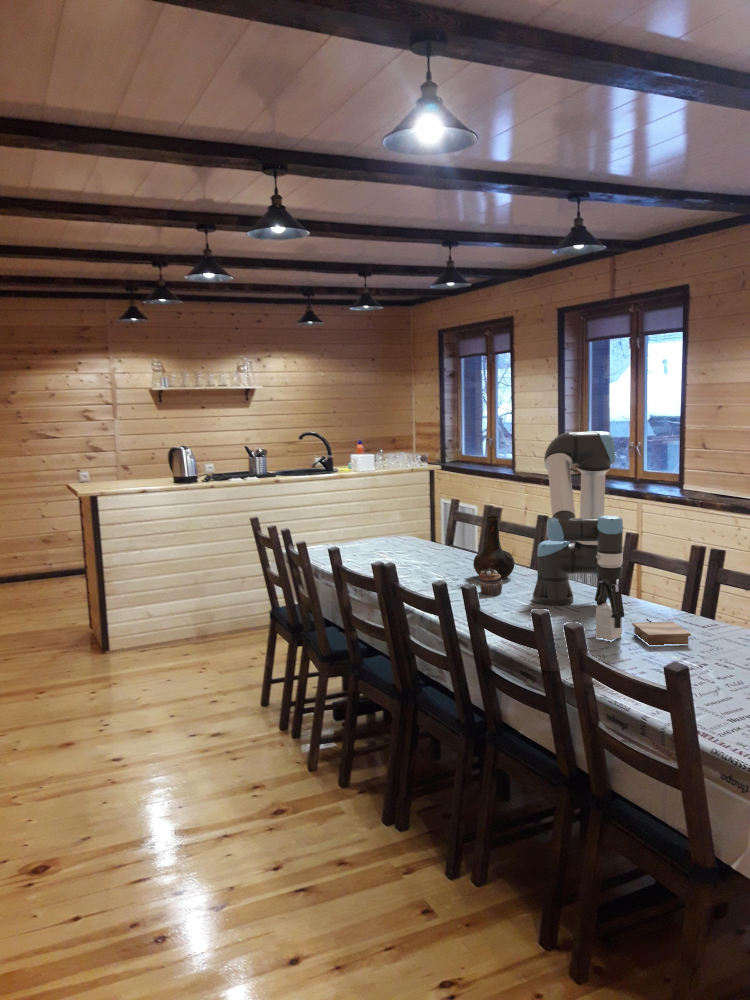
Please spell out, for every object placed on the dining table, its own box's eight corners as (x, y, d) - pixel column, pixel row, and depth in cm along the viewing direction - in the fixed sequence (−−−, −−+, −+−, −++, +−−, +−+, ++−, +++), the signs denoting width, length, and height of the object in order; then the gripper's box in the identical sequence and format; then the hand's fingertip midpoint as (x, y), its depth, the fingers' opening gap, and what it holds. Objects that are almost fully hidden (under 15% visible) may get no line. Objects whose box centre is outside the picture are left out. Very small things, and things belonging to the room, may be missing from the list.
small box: (605, 633, 239) (605, 601, 237) (622, 636, 235) (622, 604, 234) (595, 639, 233) (595, 607, 231) (612, 642, 229) (612, 609, 228)
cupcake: (492, 597, 289) (492, 572, 288) (474, 592, 296) (473, 568, 295) (508, 592, 295) (508, 568, 294) (490, 588, 303) (489, 564, 301)
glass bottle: (502, 584, 309) (502, 518, 306) (465, 579, 320) (465, 515, 317) (521, 576, 323) (521, 513, 320) (485, 572, 334) (485, 511, 331)
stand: (632, 634, 236) (632, 622, 236) (672, 633, 237) (672, 621, 236) (648, 647, 224) (648, 634, 223) (690, 646, 224) (690, 633, 223)
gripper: (585, 558, 243) (584, 620, 246) (611, 574, 219) (610, 643, 221) (607, 557, 244) (607, 619, 246) (636, 573, 219) (635, 642, 221)
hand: (608, 631), depth 234 cm, fingers open, 13 cm apart
